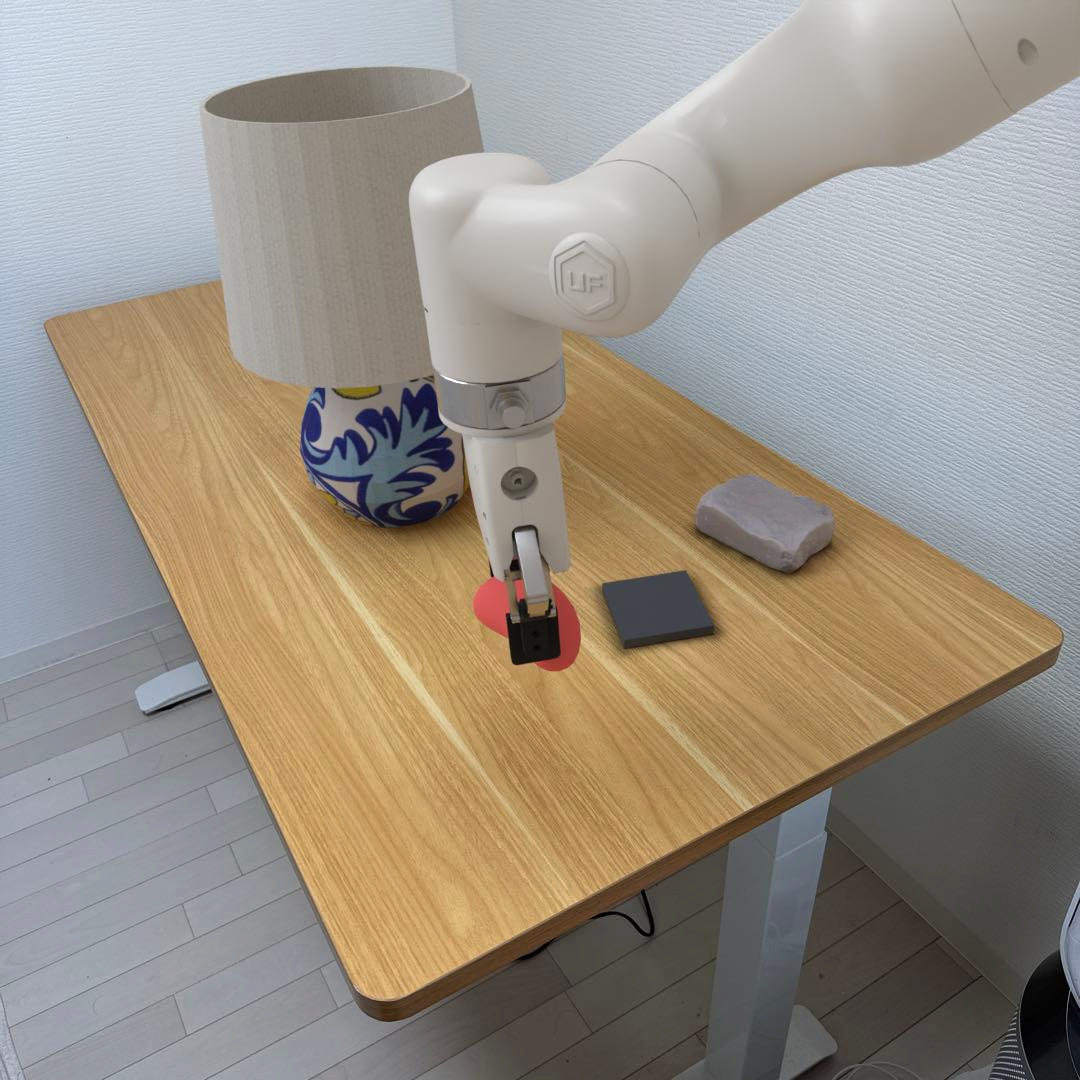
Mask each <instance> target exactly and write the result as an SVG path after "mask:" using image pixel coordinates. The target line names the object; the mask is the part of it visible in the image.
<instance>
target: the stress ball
mask: <svg viewBox="0 0 1080 1080" xmlns="http://www.w3.org/2000/svg"><path fill="white" fill-rule="evenodd" d="M551 583H552V589H553V595H554V601H555V605H556V607H557V610H558V623H559V636H560V649H561V655H560V656H559V657H558V658H556V659H550V660H545V661H539V662H534V663H533V664H535V665H536V666H537V667H538V668H540V669H542V670H544V671H546V672H561V671H564V670H566V669H568V668H570V667H571V666H572V665H574V664H575V661H576V659H577V657H578V655H579V653H580V647H581V643H582V631H581V623H580V620H579V617H578V614H577V611H576V609H575V606H574V605H573V603H572V602H571V601H570V599H569V598H568V597H567V595H566V594H565V592H563V591H562V589H560V587H558V586H557V585H556V584H554V583H553V582H551ZM515 587H516V593H517V599H518V602H519V600H520V599H523V598H524V588H523V582H522V580H516V581H515ZM472 606H473V611H474V615H475V616H476V618H477V619H478V621H479V622H480V623H481V624H483V625H484V626H485V627H487V628H488V629H489V630H492V631H493V632H495V633H497V634H499V635H500V636H502V637H505V638H506V639H508V631H507V622H506V614H505V613H510V610H509V604H508V598H507V592H506V586H505V583H504V582H501V581H499V580H498V579H497V578H495V577H492V578H491V577H490V578H488V579H486V581H485V582H483V584H482V585H480V586H479V588H478V589H477V591H476V592H475V594H474V596H473V600H472Z"/></svg>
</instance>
